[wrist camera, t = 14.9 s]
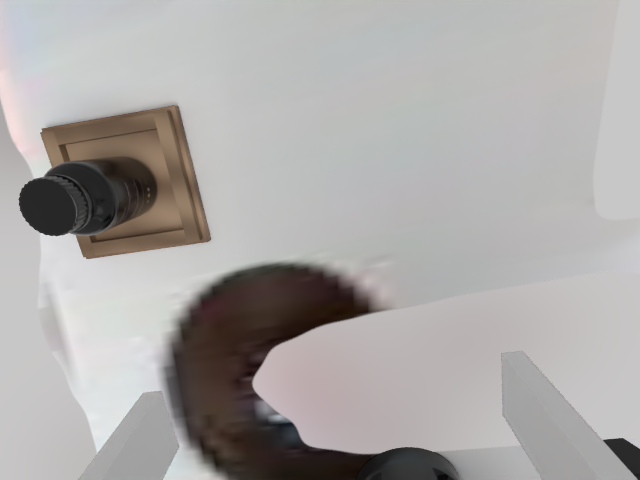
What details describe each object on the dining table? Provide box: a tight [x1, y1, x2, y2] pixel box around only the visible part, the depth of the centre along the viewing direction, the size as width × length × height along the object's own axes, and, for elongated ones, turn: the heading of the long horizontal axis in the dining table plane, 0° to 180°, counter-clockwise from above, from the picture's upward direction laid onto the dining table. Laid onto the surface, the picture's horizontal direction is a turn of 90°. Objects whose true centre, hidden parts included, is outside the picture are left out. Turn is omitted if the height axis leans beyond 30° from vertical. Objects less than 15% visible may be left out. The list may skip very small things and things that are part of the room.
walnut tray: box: [40, 106, 211, 259], centre depth 40 cm, size 15×15×2 cm
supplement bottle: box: [19, 156, 156, 236], centre depth 34 cm, size 7×7×12 cm
